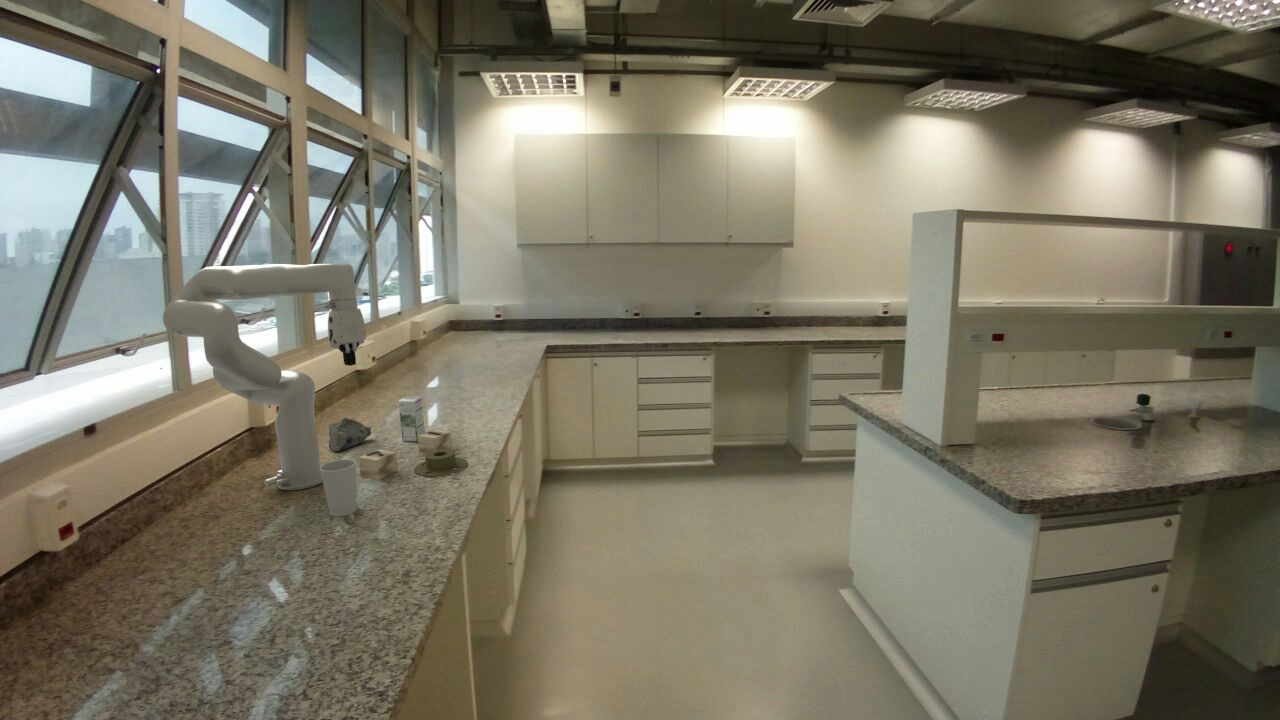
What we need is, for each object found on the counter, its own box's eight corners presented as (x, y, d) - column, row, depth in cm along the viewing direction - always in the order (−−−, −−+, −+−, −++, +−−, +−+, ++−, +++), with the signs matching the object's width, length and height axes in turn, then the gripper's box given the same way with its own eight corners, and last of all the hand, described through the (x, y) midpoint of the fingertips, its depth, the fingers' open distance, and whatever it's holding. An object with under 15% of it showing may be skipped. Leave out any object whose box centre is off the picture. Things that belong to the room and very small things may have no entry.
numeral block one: (435, 456, 183) (434, 437, 182) (419, 453, 187) (417, 434, 185) (452, 449, 190) (450, 431, 188) (436, 446, 193) (434, 428, 191)
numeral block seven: (378, 480, 165) (376, 459, 164) (360, 476, 168) (358, 456, 167) (398, 471, 172) (395, 451, 170) (380, 468, 174) (378, 448, 173)
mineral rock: (372, 438, 202) (369, 410, 200) (373, 448, 193) (370, 418, 191) (330, 444, 197) (326, 415, 195) (329, 454, 187) (325, 424, 185)
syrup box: (426, 436, 203) (422, 396, 200) (418, 442, 197) (414, 400, 194) (410, 436, 203) (406, 395, 201) (401, 442, 198) (397, 400, 195)
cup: (366, 503, 150) (361, 458, 148) (352, 517, 142) (347, 470, 140) (334, 504, 150) (329, 459, 148) (319, 518, 142) (313, 471, 140)
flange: (476, 448, 178) (435, 443, 183) (444, 465, 164) (401, 460, 169) (477, 462, 178) (436, 457, 183) (446, 481, 165) (403, 475, 170)
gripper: (329, 308, 169) (336, 370, 172) (372, 303, 182) (379, 361, 186) (312, 307, 172) (319, 368, 176) (356, 302, 185) (362, 359, 189)
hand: (350, 364), depth 181 cm, fingers closed
